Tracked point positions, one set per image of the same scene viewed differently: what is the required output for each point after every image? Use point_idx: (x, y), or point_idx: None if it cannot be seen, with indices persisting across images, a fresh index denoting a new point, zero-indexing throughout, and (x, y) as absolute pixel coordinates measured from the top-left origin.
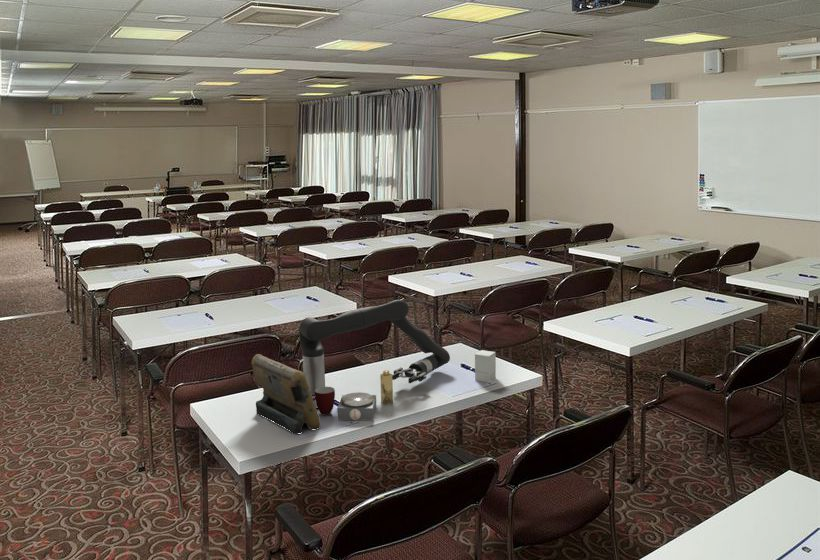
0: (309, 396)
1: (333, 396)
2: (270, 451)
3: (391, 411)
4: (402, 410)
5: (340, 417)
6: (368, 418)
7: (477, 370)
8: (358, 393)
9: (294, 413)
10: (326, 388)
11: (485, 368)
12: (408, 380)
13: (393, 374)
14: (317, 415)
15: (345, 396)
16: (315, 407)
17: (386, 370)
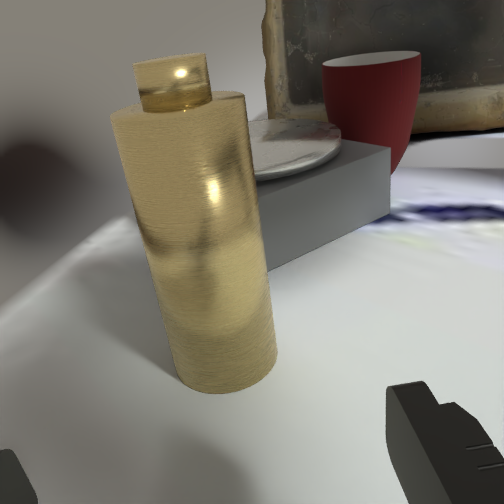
0: (264, 16)
1: (326, 93)
2: (266, 111)
3: (105, 299)
4: (36, 338)
5: None
6: None
7: None
8: (298, 150)
9: None
10: (407, 69)
11: None
12: (19, 465)
13: (439, 408)
14: (268, 101)
15: (319, 126)
16: (269, 69)
17: (184, 58)
